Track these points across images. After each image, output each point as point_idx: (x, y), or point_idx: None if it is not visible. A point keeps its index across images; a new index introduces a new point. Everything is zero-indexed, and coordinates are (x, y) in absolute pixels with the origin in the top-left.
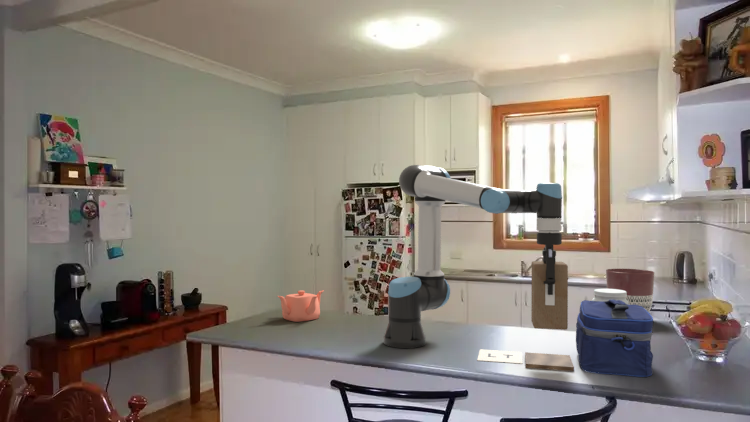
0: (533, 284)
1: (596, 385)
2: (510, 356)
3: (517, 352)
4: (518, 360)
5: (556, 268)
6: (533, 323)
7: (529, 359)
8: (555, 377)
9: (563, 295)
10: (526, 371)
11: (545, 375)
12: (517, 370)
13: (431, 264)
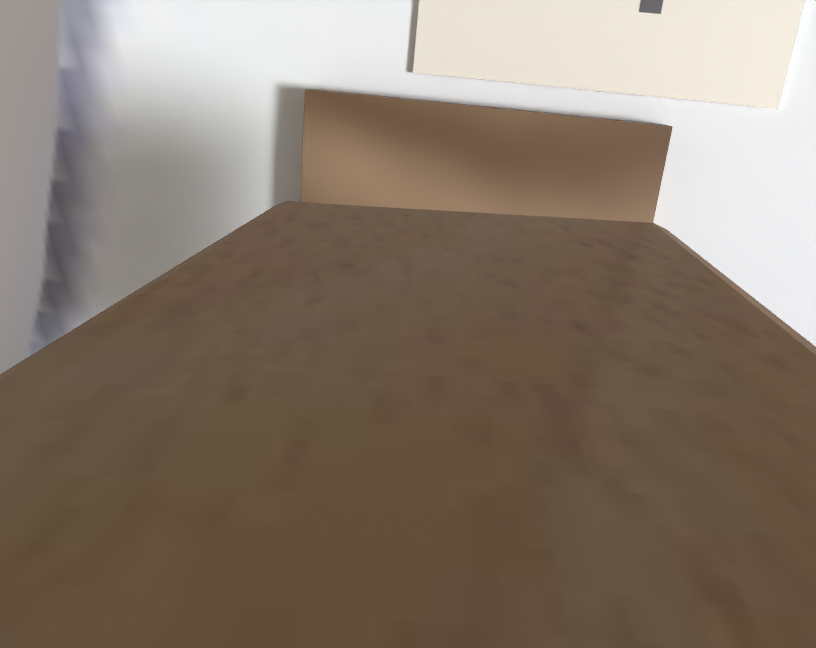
0: (45, 452)
1: None
2: None
3: (762, 65)
4: (490, 48)
5: None
6: (314, 208)
7: (438, 135)
8: (131, 264)
9: None
10: (218, 83)
11: (157, 206)
12: (227, 14)
13: None
